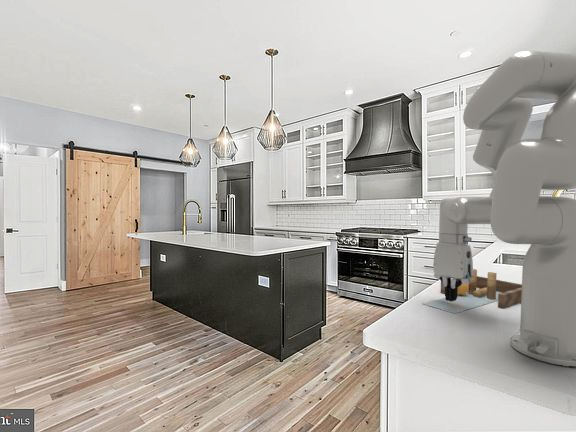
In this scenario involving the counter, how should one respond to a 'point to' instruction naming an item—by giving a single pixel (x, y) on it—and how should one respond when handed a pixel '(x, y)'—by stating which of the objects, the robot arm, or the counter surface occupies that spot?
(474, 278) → the pin left
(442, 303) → the lane
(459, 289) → the ball
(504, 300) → the fence
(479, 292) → the pin front
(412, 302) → the counter surface
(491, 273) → the pin right
